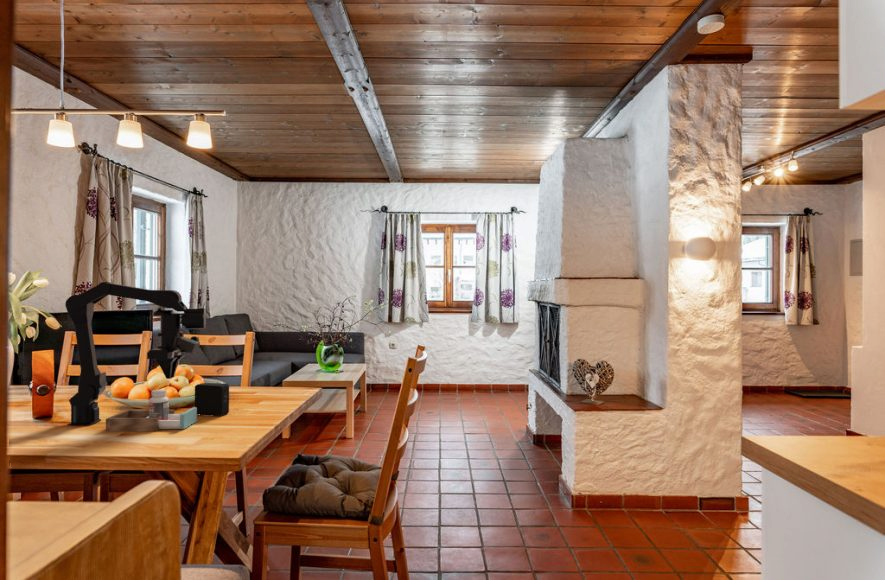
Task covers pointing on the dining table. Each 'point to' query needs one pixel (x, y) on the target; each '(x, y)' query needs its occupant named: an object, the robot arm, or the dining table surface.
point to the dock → (133, 421)
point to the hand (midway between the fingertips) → (170, 378)
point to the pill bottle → (159, 405)
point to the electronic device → (212, 399)
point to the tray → (179, 420)
